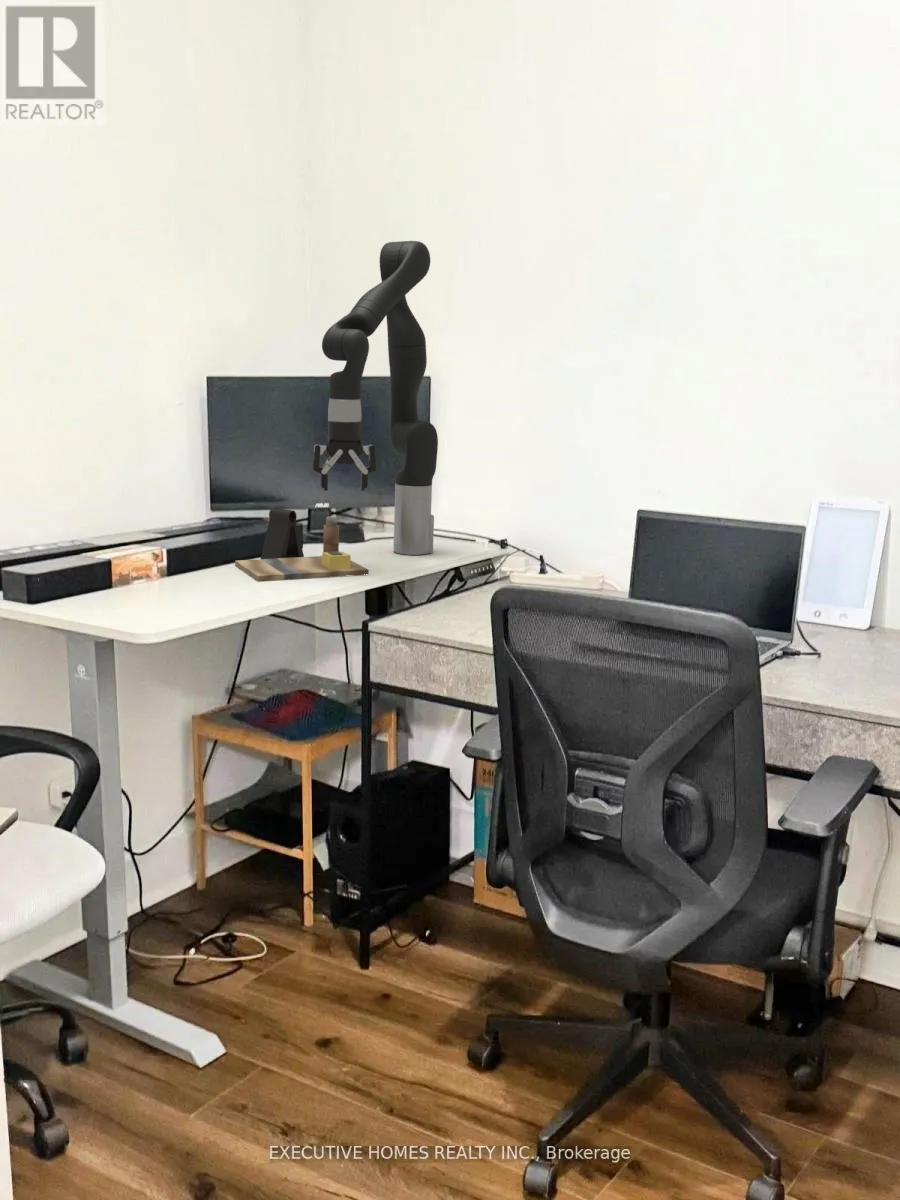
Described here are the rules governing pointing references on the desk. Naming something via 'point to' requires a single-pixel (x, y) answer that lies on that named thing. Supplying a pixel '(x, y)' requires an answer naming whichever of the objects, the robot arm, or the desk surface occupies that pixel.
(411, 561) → the desk surface
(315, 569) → the panel
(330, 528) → the brown wooden bottle
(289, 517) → the phone stand
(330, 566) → the block
